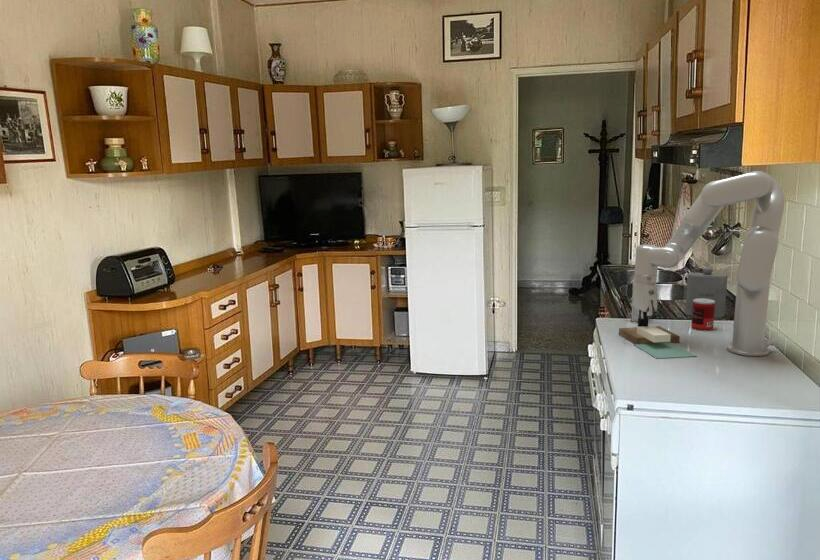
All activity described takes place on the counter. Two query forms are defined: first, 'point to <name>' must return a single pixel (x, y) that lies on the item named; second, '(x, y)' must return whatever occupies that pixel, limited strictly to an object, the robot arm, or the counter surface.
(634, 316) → the candy bar box
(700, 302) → the canned food
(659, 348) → the mat
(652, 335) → the tile
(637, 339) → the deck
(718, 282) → the grey upright rectangular block
